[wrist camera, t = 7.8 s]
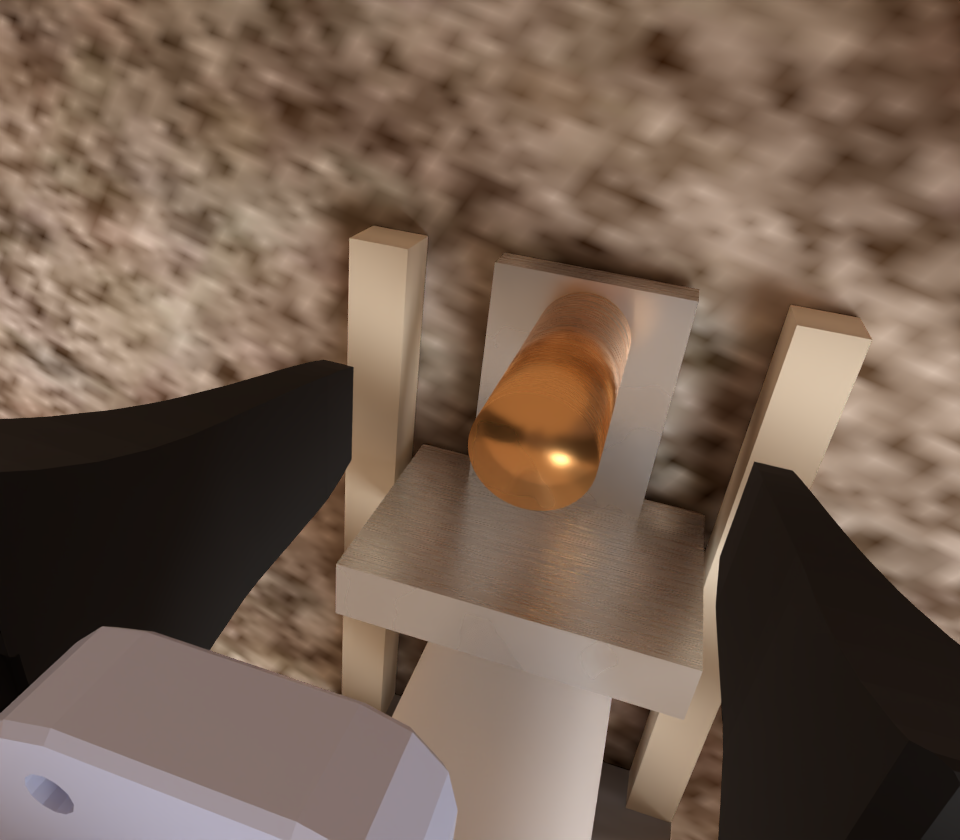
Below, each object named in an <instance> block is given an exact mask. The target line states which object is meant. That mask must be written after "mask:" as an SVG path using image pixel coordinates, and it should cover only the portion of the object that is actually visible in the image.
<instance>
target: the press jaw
mask: <svg viewBox="0 0 960 840" xmlns="http://www.w3.org/2000/svg"><path fill="white" fill-rule="evenodd" d="M698 302H699V289H694V288H689V287H684V286H679V285H673V284H668V283H663V282H658V281H652V280H647V279H642V278H637V277H631V276H626V275H621V274H616V273H610V272H605V271H600V270H595V269H589V268H584V267H579V266H574V265H568V264H563V263H558V262H553V261H547V260H542V259H537V258H532V257H526V256H521V255H516V254H510V253H504V254H503V255H502V256H501V257H500V258H499V259H498V260H497V261H496V262H495V266H494V274H493V282H492V290H491V299H490V307H489V315H488V323H487V331H486V340H485V348H484V356H483V364H482V372H481V381H480V389H479V397H478V405H477V413H476V419H475V421H474V423H473V425H472V427H471V430H470V433H469V438H468V452H469V455H466V454H462V453H458V452H454V451H450V450H446V449H442V448H438V447H434V446H430V445H426V444H423V445H422V446H421V448H420V449H419V450H418V452H417V453H416V455H415V456H414V457H413V459H412V460H411V462H410V463H409V464H408V466H407V467H406V468H405V470H404V471H403V473H402V474H401V475H400V477H399V478H398V479H397V481H396V482H395V484H394V485H393V486H392V488H391V489H390V490H389V492H388V493H387V495H386V496H385V497H384V499H383V500H382V501H381V503H380V504H379V506H378V507H377V508H376V510H375V511H374V513H373V514H372V515H371V517H370V518H369V519H368V521H367V522H366V524H365V525H364V526H363V528H362V529H361V530H360V532H359V533H358V535H357V536H356V537H355V539H354V540H353V541H352V543H351V544H350V546H349V547H348V548H347V550H346V551H345V552H344V554H343V555H342V557H341V558H340V559H339V561H338V562H337V564H336V613H337V614H340V615H344V616H347V617H350V618H353V619H357V620H360V621H363V622H366V623H370V624H373V625H376V626H379V627H383V628H386V629H389V630H392V631H396V632H399V633H402V634H405V635H409V636H412V637H415V638H418V639H422V640H425V641H428V642H431V643H435V644H438V645H441V646H444V647H448V648H451V649H454V650H457V651H461V652H464V653H467V654H471V655H474V656H477V657H480V658H484V659H487V660H490V661H493V662H497V663H500V664H503V665H506V666H510V667H513V668H516V669H519V670H523V671H526V672H529V673H532V674H536V675H539V676H542V677H545V678H549V679H552V680H555V681H558V682H562V683H565V684H568V685H571V686H575V687H578V688H581V689H584V690H588V691H591V692H594V693H597V694H601V695H604V696H607V697H610V698H614V699H617V700H620V701H623V702H627V703H630V704H633V705H636V706H640V707H643V708H646V709H649V710H653V711H656V712H659V713H663V714H666V715H669V716H672V717H676V718H679V719H682V720H684V719H685V716H686V713H687V711H688V708H689V706H690V703H691V700H692V698H693V695H694V693H695V690H696V687H697V685H698V682H699V680H700V677H701V674H702V672H703V584H704V514H701V513H697V512H693V511H689V510H685V509H681V508H677V507H673V506H669V505H665V504H661V503H657V502H653V501H649V500H645V499H644V497H645V494H646V490H647V486H648V483H649V479H650V475H651V472H652V468H653V465H654V461H655V457H656V454H657V450H658V447H659V443H660V439H661V436H662V432H663V428H664V425H665V421H666V418H667V414H668V410H669V407H670V403H671V400H672V396H673V392H674V389H675V385H676V381H677V378H678V374H679V371H680V367H681V363H682V360H683V356H684V353H685V349H686V345H687V342H688V338H689V334H690V331H691V327H692V324H693V320H694V316H695V313H696V309H697V305H698Z"/></svg>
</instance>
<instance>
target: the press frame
mask: <svg viewBox="0 0 960 840" xmlns="http://www.w3.org/2000/svg"><path fill="white" fill-rule="evenodd" d="M427 246H428V236H426V235H421V234H415V233H410V232H405V231H400V230H394V229H389V228H384V227H378V226H371V227H370V228H368V229H366V230H364V231H362V232H360V233H358V234H356V235H354V236H352V237H350V238H349V295H348V353H347V366H352V367H354V374H353V422H352V460H351V462H350V464H349V465H348V467H347V469H346V470H345V528H344V552H345V551H346V550H347V548H348V547H349V546H350V544H351V543H352V541H353V540H354V539H355V537H356V536H357V535H358V533H359V532H360V530H361V529H362V528H363V526H364V525H365V524H366V522H367V521H368V519H369V518H370V517H371V515H372V514H373V513H374V511H375V510H376V508H377V507H378V506H379V504H380V503H381V501H382V500H383V499H384V497H385V496H386V495H387V493H388V492H389V490H390V489H391V488H392V486H393V485H394V484H395V482H396V481H397V479H398V478H399V477H400V475H401V474H402V473H403V471H404V470H405V468H406V467H407V466H408V464H409V463H410V462H411V460H412V452H413V439H414V425H415V411H416V397H417V384H418V370H419V356H420V342H421V329H422V315H423V301H424V287H425V274H426V260H427ZM871 342H872V338H871V337H870V335H869V333H868V331H867V330H866V328H865V326H864V324H863V322H862V321H861V319H860V318H858V317H853V316H848V315H842V314H837V313H832V312H827V311H821V310H816V309H811V308H805V307H800V306H795V305H790V308H789V311H788V313H787V316H786V319H785V322H784V325H783V328H782V331H781V334H780V337H779V339H778V342H777V345H776V348H775V351H774V354H773V357H772V360H771V363H770V366H769V368H768V371H767V374H766V377H765V380H764V383H763V386H762V389H761V392H760V394H759V397H758V400H757V403H756V406H755V409H754V412H753V415H752V418H751V421H750V423H749V426H748V429H747V432H746V435H745V438H744V441H743V444H742V447H741V450H740V452H739V455H738V458H737V461H736V464H735V467H734V470H733V473H732V476H731V478H730V481H729V484H728V487H727V490H726V493H725V496H724V499H723V502H722V505H721V507H720V510H719V513H718V516H717V519H716V522H715V525H714V528H713V531H712V533H711V536H710V539H709V542H708V545H707V548H706V551H705V554H704V584H703V672H702V674H701V677H700V680H699V682H698V685H697V687H696V690H695V693H694V695H693V698H692V700H691V703H690V706H689V708H688V711H687V713H686V716H685V719H684V720H682V719H679V718H676V717H672V716H669V715H666V714H663V713H659V712H656V711H653V710H650V713H649V716H648V719H647V722H646V725H645V728H644V730H643V733H642V736H641V739H640V742H639V745H638V748H637V751H636V754H635V756H634V759H633V762H632V765H631V768H630V771H629V770H626V769H623V768H620V767H616V766H613V765H610V764H607V763H604V762H602V769H601V776H600V783H599V789H598V796H597V803H596V810H595V816H594V823H593V830H592V836H591V840H670V831H671V821H672V819H673V817H674V814H675V812H676V809H677V807H678V805H679V802H680V800H681V798H682V795H683V793H684V790H685V788H686V786H687V783H688V781H689V778H690V776H691V774H692V771H693V769H694V766H695V764H696V762H697V759H698V757H699V754H700V752H701V750H702V747H703V745H704V742H705V740H706V738H707V735H708V733H709V730H710V728H711V726H712V723H713V721H714V718H715V716H716V714H717V711H718V709H719V706H720V704H721V690H720V675H719V660H718V644H717V627H716V608H715V607H716V593H717V580H718V570H719V559H720V555H721V552H722V549H723V546H724V544H725V541H726V538H727V535H728V533H729V530H730V527H731V524H732V521H733V519H734V516H735V513H736V510H737V508H738V505H739V502H740V499H741V497H742V494H743V491H744V488H745V485H746V483H747V480H748V477H749V474H750V472H751V469H752V466H753V463H754V461H755V462H759V463H763V464H767V465H772V466H776V467H780V468H784V469H788V470H793V471H794V472H795V473H796V474H797V476H798V477H799V478H800V479H801V480H802V481H803V483H804V484H805V485H806V486H807V487H808V489H809V490H810V488H811V486H812V483H813V481H814V478H815V476H816V474H817V471H818V469H819V466H820V464H821V462H822V459H823V457H824V455H825V452H826V450H827V447H828V445H829V443H830V440H831V438H832V435H833V433H834V431H835V428H836V426H837V423H838V421H839V419H840V416H841V414H842V411H843V409H844V407H845V404H846V402H847V399H848V397H849V395H850V392H851V390H852V387H853V385H854V383H855V380H856V378H857V375H858V373H859V371H860V368H861V366H862V363H863V361H864V359H865V356H866V354H867V351H868V349H869V347H870V344H871ZM398 645H399V632H396V631H392V630H389V629H386V628H383V627H379V626H376V625H373V624H370V623H366V622H363V621H360V620H357V619H353V618H350V617H347V616H344V615H343V644H342V695H343V696H346V697H349V698H352V699H355V700H358V701H361V702H364V703H366V704H368V705H370V706H372V707H374V708H375V709H377V710H379V711H381V712H383V713H385V714H387V715H388V716H390V717H392V716H393V714H394V711H395V709H396V707H397V705H398V703H399V701H400V699H401V697H402V696H398V695H395V686H396V672H397V658H398Z"/></svg>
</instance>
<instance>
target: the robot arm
mask: <svg viewBox="0 0 960 840" xmlns="http://www.w3.org/2000/svg"><path fill="white" fill-rule="evenodd" d="M353 374H354V367H352V366H347V365H343V364H339V363H335V362H331V361H326V360H320V361H314V362H309V363H304V364H300V365H297V366H293V367H289V368H286V369H282V370H279V371H275V372H272V373H268V374H265V375H261V376H258V377H254V378H251V379H248V380H244V381H241V382H237V383H234V384H230V385H227V386H223V387H219V388H215V389H211V390H207V391H203V392H199V393H195V394H191V395H187V396H183V397H179V398H175V399H170V400H166V401H161V402H156V403H151V404H145V405H139V406H133V407H127V408H121V409H115V410H108V411H99V412H89V413H79V414H70V415H60V416H50V417H35V418H16V419H0V840H453V837H454V831H455V825H456V818H457V812H458V809H457V805H456V801H455V797H454V793H453V788H452V784H451V780H450V776H449V772H448V770H447V769H446V767H445V765H444V764H443V762H442V761H441V760H440V759H439V758H438V757H437V756H436V755H435V754H434V752H433V751H432V750H431V749H430V748H429V747H428V746H427V745H426V744H425V743H424V741H423V740H422V739H421V738H420V737H419V736H418V735H417V734H416V733H415V732H414V730H413V729H412V728H411V727H409V726H407V725H405V724H403V723H402V722H400V721H398V720H396V719H394V718H392V717H390V716H388V715H387V714H385V713H383V712H381V711H379V710H377V709H375V708H374V707H372V706H370V705H368V704H366V703H364V702H361V701H358V700H355V699H352V698H349V697H346V696H343V695H340V694H337V693H334V692H331V691H328V690H325V689H322V688H319V687H316V686H313V685H311V684H308V683H305V682H302V681H299V680H296V679H293V678H290V677H287V676H284V675H281V674H278V673H275V672H272V671H269V670H266V669H263V668H260V667H257V666H254V665H251V664H248V663H245V662H242V661H239V660H236V659H233V658H230V657H227V656H225V655H222V654H219V653H216V652H213V651H210V649H211V647H212V646H213V644H214V643H215V641H216V640H217V638H218V637H219V635H220V634H221V632H222V631H223V629H224V628H225V626H226V625H227V623H228V622H229V620H230V619H231V617H232V616H233V614H234V613H235V612H236V610H237V609H238V607H239V606H240V604H241V603H242V601H243V600H244V598H245V597H246V596H247V595H248V593H249V592H250V591H251V589H252V588H253V587H254V586H255V584H256V583H257V582H258V580H259V579H260V578H261V577H262V576H263V575H264V573H265V572H266V571H267V570H268V569H269V568H270V566H271V565H272V564H273V563H274V562H275V561H276V559H277V558H278V557H279V556H280V555H281V554H282V553H283V551H284V550H285V549H286V548H287V547H288V546H289V544H290V543H291V542H292V541H293V540H294V539H295V537H296V536H297V535H298V534H299V533H300V532H301V530H302V529H303V528H304V527H305V526H306V525H307V523H308V522H309V521H310V520H311V519H312V517H313V516H314V515H315V514H316V513H317V511H318V510H319V509H320V508H321V507H322V505H323V504H324V503H325V502H326V500H327V499H328V498H329V496H330V495H331V493H332V491H333V490H334V488H335V487H336V485H337V484H338V482H339V480H340V479H341V477H342V475H343V474H344V472H345V470H346V469H347V467H348V465H349V464H350V462H351V460H352V422H353ZM715 608H716V627H717V644H718V660H719V675H720V690H721V706H722V721H723V764H722V784H721V805H720V821H719V836H718V840H960V645H959V644H958V643H957V642H956V641H954V640H953V639H952V638H951V637H949V636H948V635H947V634H946V633H945V632H944V631H942V630H941V629H940V628H939V627H938V626H937V625H936V624H934V623H933V622H932V621H931V620H930V619H929V618H928V617H926V616H925V615H924V614H923V613H922V612H921V611H920V610H919V609H917V608H916V607H915V606H914V605H913V604H912V603H911V602H910V601H909V600H908V599H907V598H906V597H904V596H903V595H902V594H901V593H900V592H899V591H898V590H897V589H896V588H895V587H894V586H893V585H892V584H891V583H890V582H889V581H888V580H887V579H886V578H885V576H884V575H883V574H882V573H881V572H880V571H879V570H878V569H877V568H876V567H875V566H874V565H873V564H872V563H871V562H870V561H869V560H868V559H867V558H866V556H865V555H864V554H863V553H862V552H861V551H860V550H859V549H858V548H857V547H856V545H855V544H854V543H853V542H852V541H851V540H850V539H849V537H848V536H847V535H846V534H845V533H844V531H843V530H842V529H841V528H840V527H839V526H838V524H837V523H836V522H835V521H834V520H833V518H832V517H831V516H830V515H829V513H828V512H827V511H826V510H825V508H824V507H823V506H822V505H821V504H820V502H819V501H818V500H817V499H816V497H815V496H814V495H813V494H812V492H811V491H810V490H809V489H808V487H807V486H806V485H805V484H804V483H803V481H802V480H801V479H800V478H799V477H798V476H797V474H796V473H795V472H794V471H793V470H788V469H784V468H780V467H776V466H772V465H767V464H763V463H759V462H755V461H754V463H753V466H752V469H751V472H750V474H749V477H748V480H747V483H746V485H745V488H744V491H743V494H742V497H741V499H740V502H739V505H738V508H737V510H736V513H735V516H734V519H733V521H732V524H731V527H730V530H729V533H728V535H727V538H726V541H725V544H724V546H723V549H722V552H721V555H720V559H719V570H718V580H717V593H716V607H715Z"/></svg>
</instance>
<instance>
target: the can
mask: <svg viewBox="0 0 960 840" xmlns="http://www.w3.org/2000/svg"><path fill="white" fill-rule="evenodd" d="M611 699H612V698H610V697H607V696H604V695H601V694H597V693H594V692H591V691H588V690H584V689H581V688H578V687H575V686H571V685H568V684H565V683H562V682H558V681H555V680H552V679H549V678H545V677H542V676H539V675H536V674H532V673H529V672H526V671H523V670H519V669H516V668H513V667H510V666H506V665H503V664H500V663H497V662H493V661H490V660H487V659H484V658H480V657H477V656H474V655H471V654H467V653H464V652H461V651H457V650H454V649H451V648H448V647H444V646H441V645H438V644H435V643H431V642H428V643H427V645H426V647H425V649H424V651H423V653H422V655H421V657H420V659H419V661H418V663H417V665H416V667H415V670H414V672H413V674H412V676H411V678H410V680H409V682H408V684H407V686H406V688H405V690H404V693H403V695H402V697H401V699H400V701H399V703H398V705H397V707H396V709H395V711H394V714H393V716H392V718H394V719H396V720H398V721H400V722H402V723H403V724H405V725H407V726H409V727H411V728H412V729H413V730H414V732H415V733H416V734H417V735H418V736H419V737H420V738H421V739H422V740H423V741H424V743H425V744H426V745H427V746H428V747H429V748H430V749H431V750H432V751H433V752H434V754H435V755H436V756H437V757H438V758H439V759H440V760H441V761H442V762H443V764H444V765H445V767H446V769H447V770H448V772H449V776H450V780H451V784H452V788H453V793H454V797H455V801H456V805H457V809H458V812H457V818H456V825H455V831H454V837H453V840H591V836H592V830H593V823H594V816H595V810H596V803H597V796H598V789H599V783H600V776H601V769H602V762H603V756H604V749H605V742H606V735H607V728H608V721H609V714H610V707H611Z"/></svg>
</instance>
